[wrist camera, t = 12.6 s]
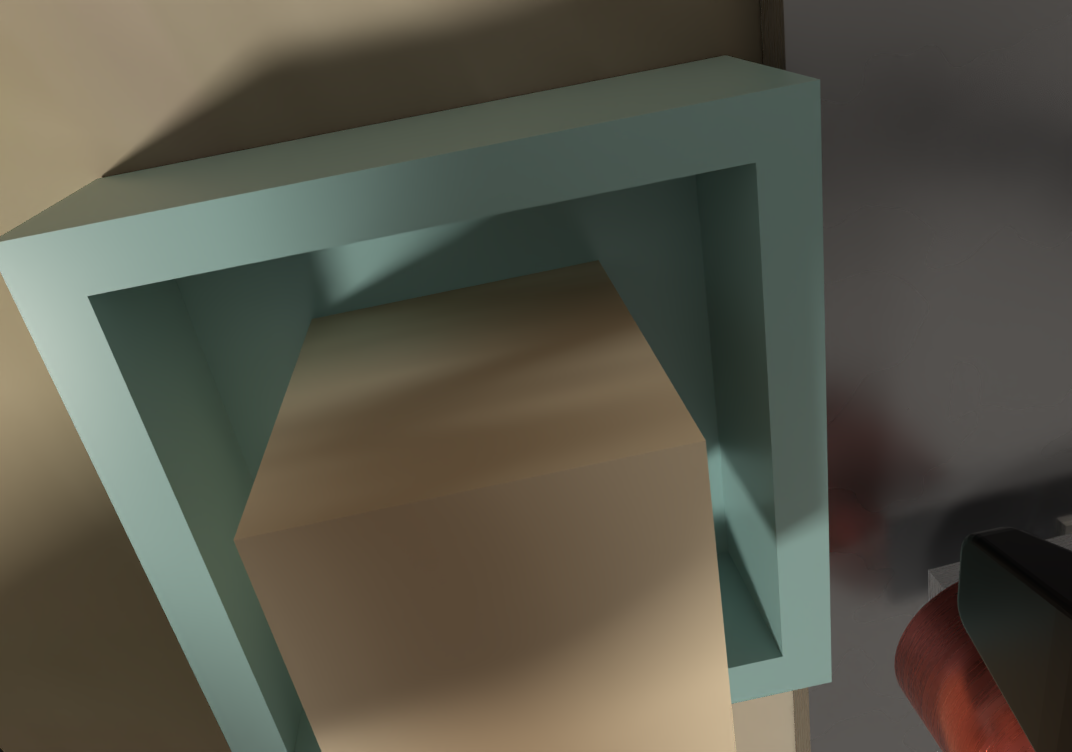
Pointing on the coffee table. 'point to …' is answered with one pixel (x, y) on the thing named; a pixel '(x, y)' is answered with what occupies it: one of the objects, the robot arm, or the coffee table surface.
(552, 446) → the block
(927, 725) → the crank
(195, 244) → the tray
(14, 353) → the coffee table surface
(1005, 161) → the bedplate
